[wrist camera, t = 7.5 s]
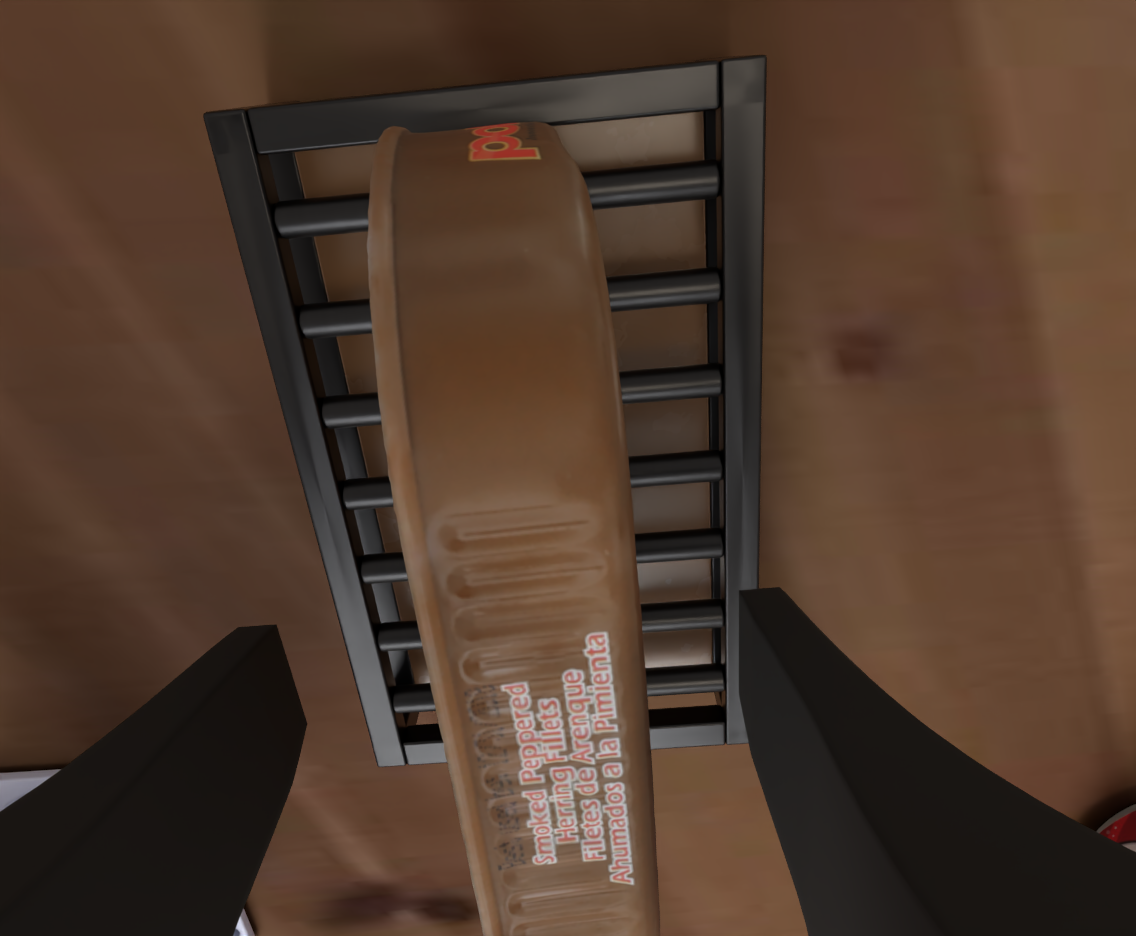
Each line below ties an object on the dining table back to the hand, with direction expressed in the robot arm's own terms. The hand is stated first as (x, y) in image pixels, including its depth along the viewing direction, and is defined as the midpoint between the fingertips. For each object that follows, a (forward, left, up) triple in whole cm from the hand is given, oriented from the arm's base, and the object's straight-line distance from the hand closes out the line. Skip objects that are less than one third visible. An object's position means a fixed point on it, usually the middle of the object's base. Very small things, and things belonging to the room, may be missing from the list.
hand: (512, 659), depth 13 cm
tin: (0, 0, -6) cm, 6 cm away
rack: (0, 0, -9) cm, 9 cm away
